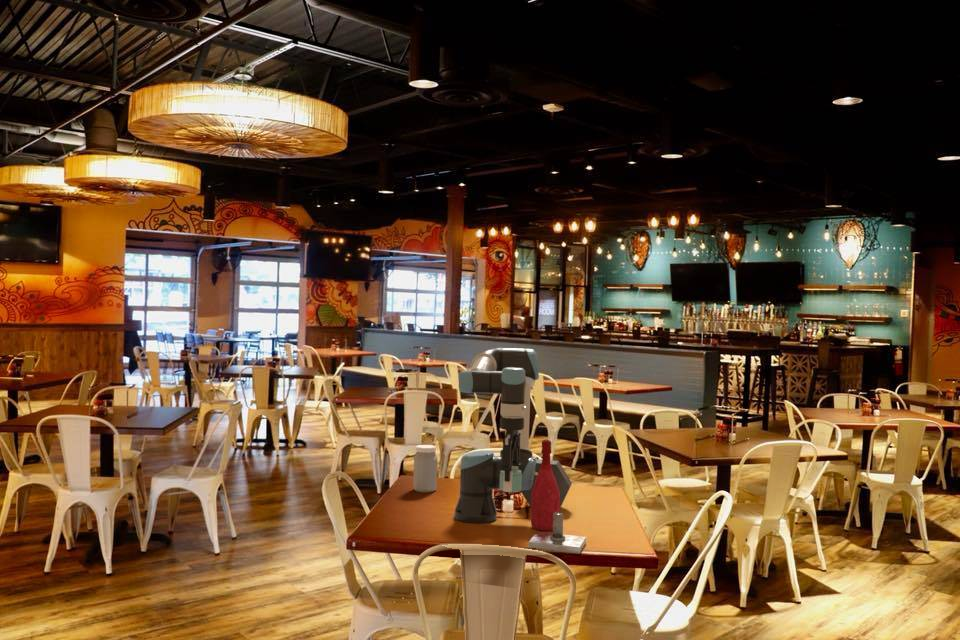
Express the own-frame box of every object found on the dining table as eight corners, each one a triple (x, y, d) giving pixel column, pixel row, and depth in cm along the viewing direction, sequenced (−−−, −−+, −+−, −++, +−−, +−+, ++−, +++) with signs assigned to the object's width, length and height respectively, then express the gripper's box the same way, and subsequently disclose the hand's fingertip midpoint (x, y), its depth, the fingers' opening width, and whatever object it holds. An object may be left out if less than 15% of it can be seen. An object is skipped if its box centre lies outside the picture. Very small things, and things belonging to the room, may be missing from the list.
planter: (579, 495, 298) (551, 448, 301) (577, 500, 291) (548, 451, 293) (542, 517, 302) (514, 469, 304) (539, 522, 294) (510, 473, 297)
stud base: (528, 548, 245) (529, 516, 245) (536, 537, 257) (537, 507, 257) (579, 553, 241) (580, 521, 240) (585, 543, 252) (586, 512, 252)
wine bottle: (551, 533, 262) (553, 443, 262) (525, 528, 267) (527, 440, 267) (564, 526, 271) (565, 439, 271) (538, 522, 276) (540, 437, 276)
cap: (497, 491, 248) (498, 472, 248) (503, 486, 254) (503, 468, 254) (518, 492, 246) (518, 473, 246) (523, 488, 252) (523, 469, 252)
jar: (410, 492, 318) (411, 447, 318) (416, 487, 328) (417, 443, 328) (433, 493, 316) (435, 448, 316) (439, 488, 326) (440, 445, 326)
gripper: (516, 421, 239) (514, 496, 240) (530, 413, 258) (528, 483, 258) (492, 419, 241) (490, 494, 242) (508, 412, 260) (506, 481, 261)
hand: (510, 488), depth 250 cm, fingers closed on cap, 7 cm apart
